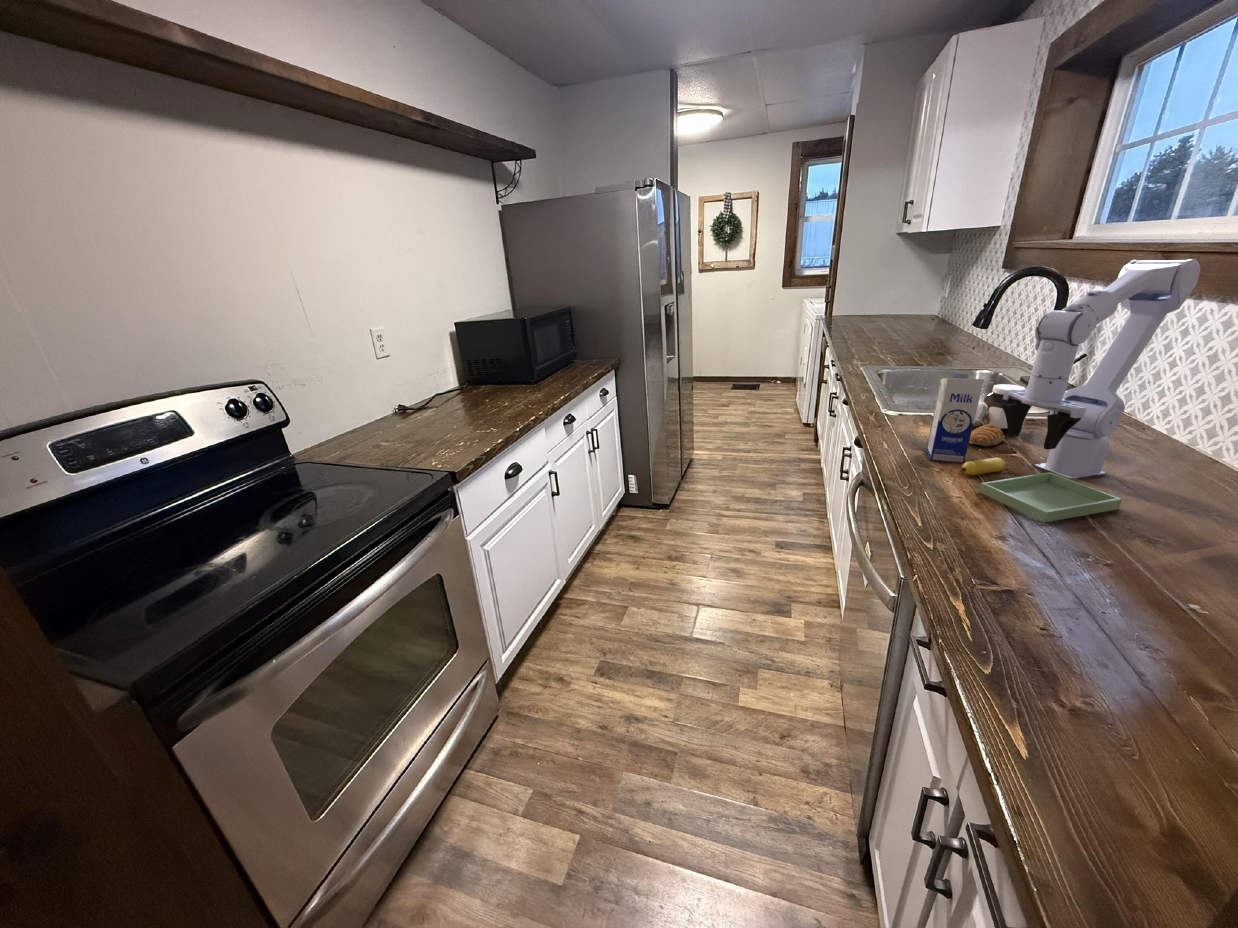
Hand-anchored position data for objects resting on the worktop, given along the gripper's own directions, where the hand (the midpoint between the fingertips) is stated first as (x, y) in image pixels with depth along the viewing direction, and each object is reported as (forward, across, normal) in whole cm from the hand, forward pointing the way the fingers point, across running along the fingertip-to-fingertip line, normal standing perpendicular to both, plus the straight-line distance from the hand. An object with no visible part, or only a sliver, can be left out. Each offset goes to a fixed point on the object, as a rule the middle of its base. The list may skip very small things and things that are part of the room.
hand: (1030, 442), depth 101 cm
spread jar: (+10, -30, +25) cm, 40 cm away
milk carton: (+10, -17, -2) cm, 20 cm away
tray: (+9, +8, -3) cm, 13 cm away
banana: (+9, -6, -2) cm, 11 cm away
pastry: (+10, -22, +15) cm, 28 cm away
